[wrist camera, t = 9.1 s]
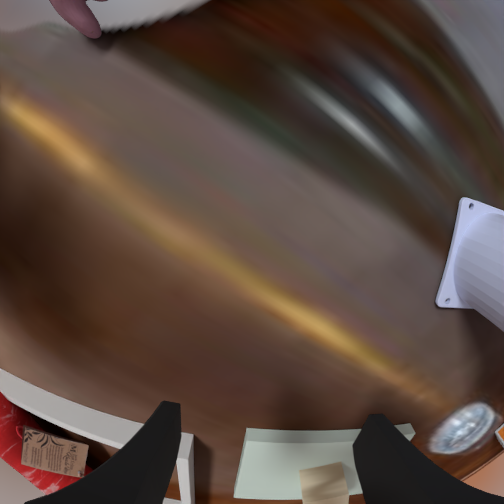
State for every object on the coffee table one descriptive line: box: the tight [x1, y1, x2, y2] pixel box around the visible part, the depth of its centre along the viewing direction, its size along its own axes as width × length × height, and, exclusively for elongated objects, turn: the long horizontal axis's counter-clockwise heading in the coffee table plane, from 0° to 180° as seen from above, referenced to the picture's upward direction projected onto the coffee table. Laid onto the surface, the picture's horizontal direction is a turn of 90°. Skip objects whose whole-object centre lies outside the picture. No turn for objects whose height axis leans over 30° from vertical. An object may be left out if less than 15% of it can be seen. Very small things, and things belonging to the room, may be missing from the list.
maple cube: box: [299, 462, 349, 504], centre depth 20 cm, size 4×4×4 cm
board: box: [234, 423, 415, 500], centre depth 22 cm, size 16×12×2 cm
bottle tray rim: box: [0, 368, 195, 504], centre depth 22 cm, size 31×18×3 cm, turn 83°
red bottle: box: [0, 392, 93, 495], centre depth 19 cm, size 12×8×25 cm
